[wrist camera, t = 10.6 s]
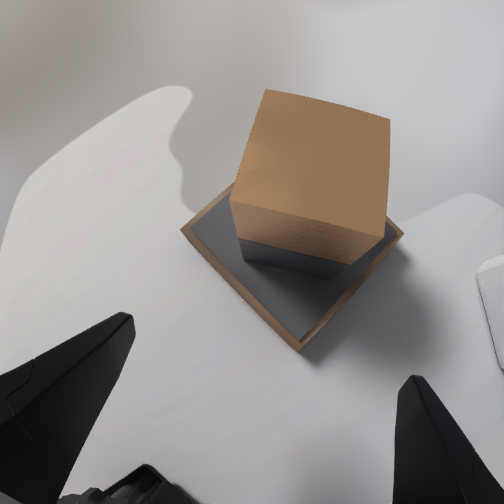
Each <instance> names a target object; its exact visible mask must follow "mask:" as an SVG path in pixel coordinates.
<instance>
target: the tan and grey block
mask: <svg viewBox="0 0 504 504" xmlns="http://www.w3.org/2000/svg"><path fill="white" fill-rule="evenodd" d="M389 162H390V120H389V119H387V118H383V117H380V116H377V115H374V114H371V113H367V112H364V111H361V110H357V109H354V108H349V107H346V106H343V105H339V104H334V103H331V102H326V101H322V100H318V99H313V98H309V97H305V96H300V95H295V94H290V93H285V92H279V91H274V90H268V89H265V92H264V95H263V98H262V101H261V104H260V107H259V109H258V112H257V115H256V118H255V122H254V124H253V127H252V130H251V133H250V136H249V139H248V142H247V145H246V148H245V151H244V155H243V158H242V161H241V164H240V167H239V170H238V173H237V176H236V179H235V183H234V186H233V189H232V192H231V195H230V199H229V202H230V206H231V211H232V215H233V219H234V223H235V227H236V232H237V236H238V240H239V244H240V248H241V252H242V256H243V260H245V261H249V262H253V263H258V264H262V265H266V266H270V267H274V268H278V269H282V270H287V271H291V272H295V273H299V274H303V275H308V276H312V277H316V278H320V279H324V280H329V281H331V280H332V279H333V278H335V277H336V276H337V275H338V274H340V273H341V272H342V271H343V270H345V269H346V268H347V267H349V266H350V265H351V264H352V263H354V262H355V261H356V260H357V259H359V258H360V257H361V256H362V255H363V254H365V253H366V252H367V251H368V250H370V249H371V248H372V247H373V246H374V245H376V244H377V243H378V242H379V241H380V240H382V239H383V238H384V231H385V221H386V210H387V197H388V183H389Z"/></svg>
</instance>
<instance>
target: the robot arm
mask: <svg viewBox="0 0 504 504" xmlns="http://www.w3.org/2000/svg"><path fill="white" fill-rule="evenodd" d="M135 335H136V332H135V326H134V319H133V316H132V315H131V314H128V313H125V312H119V313H117V314H115V315H113V316H111V317H109V318H107V319H105V320H104V321H102V322H100V323H98V324H96V325H94V326H93V327H91V328H89V329H87V330H85V331H83V332H81V333H80V334H78V335H76V336H74V337H72V338H70V339H69V340H67V341H65V342H63V343H61V344H59V345H58V346H56V347H54V348H52V349H50V350H49V351H47V352H45V353H43V354H41V355H39V356H38V357H36V358H35V360H34V359H32V360H30V361H28V362H27V363H25V364H23V365H21V366H19V367H17V368H15V369H13V370H11V371H9V372H7V373H4V374H2V375H0V504H192V503H191V502H190V500H189V499H187V498H186V497H185V496H184V495H183V494H182V493H180V492H179V491H178V490H177V489H176V488H175V487H174V486H172V485H171V484H170V483H169V482H168V481H166V480H165V479H163V478H162V477H161V476H160V475H159V474H158V473H157V472H156V471H155V470H154V469H153V468H152V467H151V466H150V465H148V464H142V465H141V466H140V467H138V468H137V469H135V470H134V471H133V472H131V473H130V474H128V475H127V476H125V477H124V478H122V479H121V480H119V481H118V482H117V483H115V484H114V485H112V486H111V487H109V488H108V489H106V490H104V491H101V490H100V489H99V488H89V489H88V490H87V491H85V492H84V493H83V494H82V495H77V494H70V495H66V496H63V497H62V498H60V499H59V496H60V494H61V492H62V490H63V488H64V485H65V483H66V481H67V479H68V477H69V475H70V472H71V470H72V468H73V466H74V464H75V462H76V460H77V457H78V455H79V453H80V451H81V449H82V447H83V445H84V443H85V441H86V439H87V437H88V435H89V433H90V431H91V429H92V427H93V425H94V423H95V421H96V420H97V418H98V416H99V414H100V412H101V410H102V408H103V406H104V404H105V402H106V400H107V399H108V397H109V395H110V393H111V391H112V389H113V387H114V385H115V384H116V382H117V380H118V378H119V376H120V373H121V371H122V369H123V366H124V364H125V361H126V359H127V356H128V354H129V351H130V349H131V347H132V344H133V342H134V339H135ZM144 468H145V469H147V470H148V472H146V471H145V470H144ZM392 504H504V490H503V488H502V487H501V486H500V484H499V483H498V482H497V481H496V479H495V478H494V477H493V475H492V474H491V473H490V471H489V470H488V469H487V467H486V466H485V464H484V463H483V461H482V460H481V458H480V457H479V455H478V454H477V452H475V449H474V448H473V446H472V445H471V443H470V442H469V440H468V439H467V437H466V436H465V434H464V433H463V431H462V430H461V429H460V427H459V426H458V424H457V423H456V421H455V420H454V418H453V417H452V416H451V414H450V413H449V411H448V410H447V409H446V407H445V406H444V404H443V403H442V402H441V400H440V399H439V397H438V396H437V395H436V393H435V392H434V391H433V389H432V388H431V387H430V385H429V384H428V382H427V381H426V380H425V378H424V377H423V376H418V375H412V376H410V377H409V378H408V380H407V381H406V382H405V383H404V385H403V386H402V387H401V389H400V390H399V393H398V400H397V414H396V426H395V459H394V487H393V502H392Z"/></svg>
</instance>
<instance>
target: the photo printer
mask: <svg viewBox="0 0 504 504" xmlns="http://www.w3.org/2000/svg"><path fill="white" fill-rule="evenodd" d="M477 280H478V285H479V289H480V292H481V296H482V299H483V303H484V307H485V311H486V314H487V318H488V322H489V326H490V330H491V334H492V337H493V341H494V346H495V350H496V354H497V358H498V361H499V364H500V367H501V368H502V369H504V254H502V255H500V256H497V257H495V258H493V259H491V260H488V261H486V262H485V263H483V264H482V265H481V267H480V269H479V271H478V273H477Z"/></svg>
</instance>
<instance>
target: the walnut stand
mask: <svg viewBox="0 0 504 504" xmlns="http://www.w3.org/2000/svg"><path fill="white" fill-rule="evenodd" d="M234 183H235V182H234ZM234 183H233V184H231V185H230V186H229V187H228V188H227V189H226V190H225V191H223V192H222V193H221V194H220V195H218V196H217V197H216V198H215V199H214V200H213V201H212V202H210V203H209V204H208V205H207V206H206V207H205V208H204V209H203V210H201V211H200V212H199V213H198V214H197V215H196V216H195V217H193V218H192V219H191V220H190V221H189V222H188V223H187V224H186V225H185V226H183V227H182V228H181V229H180V230H181V232H182V233H183V234H184V236H185V237H186V238H187V240H188V241H189V242H190V243H191V244H192V245H193V246H194V247H195V248H196V249H197V250H198V252H199V253H200V254H201V255H202V256H203V257H204V258H205V259H206V260H207V261H208V262H209V263H210V264H211V265H212V266H213V268H214V269H215V270H216V271H217V272H218V273H219V274H220V275H221V276H222V277H223V278H224V279H225V280H226V281H227V282H228V283H229V284H230V285H231V287H232V288H233V289H234V290H235V291H236V292H237V293H238V294H239V295H240V296H241V297H242V298H243V299H244V300H245V301H246V302H247V303H248V304H249V305H250V306H251V307H252V308H253V309H254V310H255V311H256V312H257V313H258V314H259V315H260V316H261V317H262V318H263V320H264V321H265V322H266V323H267V324H268V325H269V326H270V327H271V328H272V329H273V330H274V331H275V332H276V333H277V334H278V335H279V336H280V337H281V338H282V339H283V340H284V341H285V342H286V343H287V344H288V345H289V346H290V347H291V348H292V349H293V350H295V351H297V352H298V351H299V350H300V349H301V348H302V347H303V346H304V345H305V344H306V343H307V342H308V341H309V340H310V339H311V338H312V337H313V336H314V335H315V334H316V333H317V332H318V331H319V330H320V329H321V328H322V327H323V326H324V325H325V324H326V323H327V322H328V321H329V320H330V319H331V317H332V316H333V315H334V314H335V313H336V312H337V311H338V310H339V309H340V308H341V307H342V306H343V305H344V303H345V302H346V301H347V300H348V299H349V298H350V297H351V296H352V295H353V294H354V292H355V291H356V290H357V289H358V288H359V287H360V286H361V285H362V283H363V282H364V281H365V280H366V279H367V278H368V277H369V275H370V274H371V273H372V272H373V271H374V270H375V268H376V267H377V266H378V265H379V264H380V262H381V261H382V260H383V259H384V258H385V256H386V255H387V254H388V253H389V252H390V250H391V249H392V248H393V247H394V245H395V244H396V243H397V242H398V240H399V239H400V238H401V237H402V235H403V234H404V233H403V232H402V231H401V230H400V229H399V228H398V227H397V226H396V225H395V224H394V223H393V222H392V221H391V220H390V219H389V218H388V217H387V216H386V221H385V231H384V238H383V239H382V240H380V241H379V242H378V243H377V244H376V245H374V246H373V247H372V248H371V249H370V250H368V251H367V252H366V253H365V254H363V255H362V256H361V257H360V258H359V259H357V260H356V261H355V262H354V263H352V264H351V265H350V266H349V267H347V268H346V269H345V270H343V271H342V272H341V273H340V274H338V275H337V276H336V277H335V278H333V279H332V280H331V281H329V280H324V279H320V278H316V277H312V276H308V275H303V274H299V273H295V272H291V271H287V270H282V269H278V268H274V267H270V266H266V265H262V264H258V263H253V262H249V261H245V260H243V256H242V252H241V248H240V244H239V240H238V236H237V232H236V227H235V223H234V219H233V215H232V211H231V206H230V202H229V199H230V195H231V192H232V189H233V186H234Z"/></svg>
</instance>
